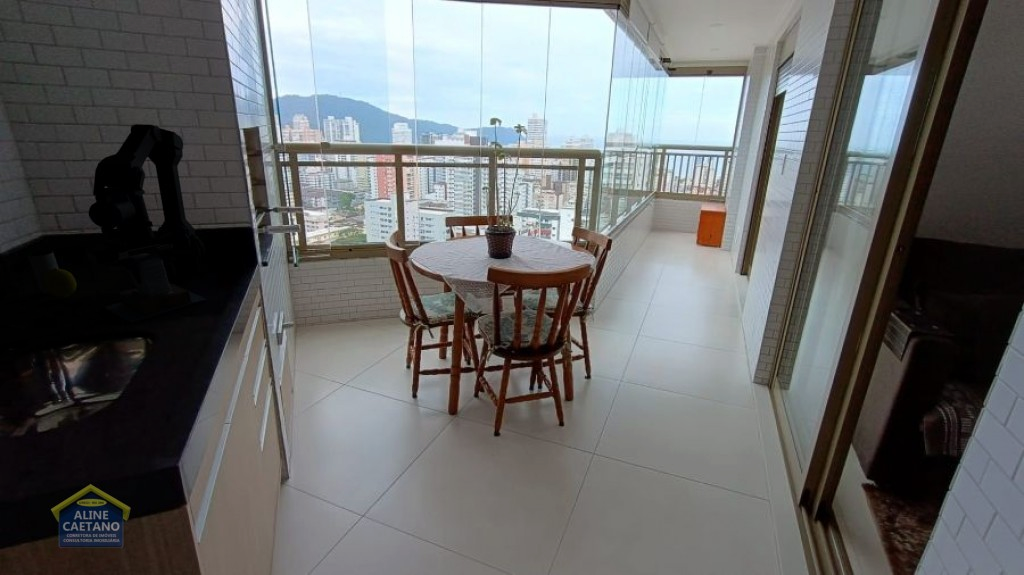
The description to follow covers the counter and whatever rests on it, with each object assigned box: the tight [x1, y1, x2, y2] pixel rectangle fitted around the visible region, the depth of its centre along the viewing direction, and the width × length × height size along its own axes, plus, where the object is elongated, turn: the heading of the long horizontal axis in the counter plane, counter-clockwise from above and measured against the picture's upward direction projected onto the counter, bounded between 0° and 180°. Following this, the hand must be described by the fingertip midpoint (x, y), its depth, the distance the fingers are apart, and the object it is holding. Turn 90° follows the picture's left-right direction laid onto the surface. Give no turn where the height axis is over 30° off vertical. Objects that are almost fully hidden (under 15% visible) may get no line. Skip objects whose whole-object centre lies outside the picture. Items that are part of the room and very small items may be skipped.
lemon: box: [44, 268, 77, 299], centre depth 113 cm, size 6×6×8 cm
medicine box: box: [130, 252, 171, 297], centre depth 110 cm, size 8×4×9 cm, turn 59°
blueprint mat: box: [104, 291, 207, 324], centre depth 113 cm, size 16×14×1 cm
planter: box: [27, 250, 60, 295], centre depth 116 cm, size 4×4×10 cm
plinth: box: [118, 281, 191, 316], centre depth 112 cm, size 10×12×3 cm
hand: (150, 280), depth 110 cm, fingers open, 5 cm apart
